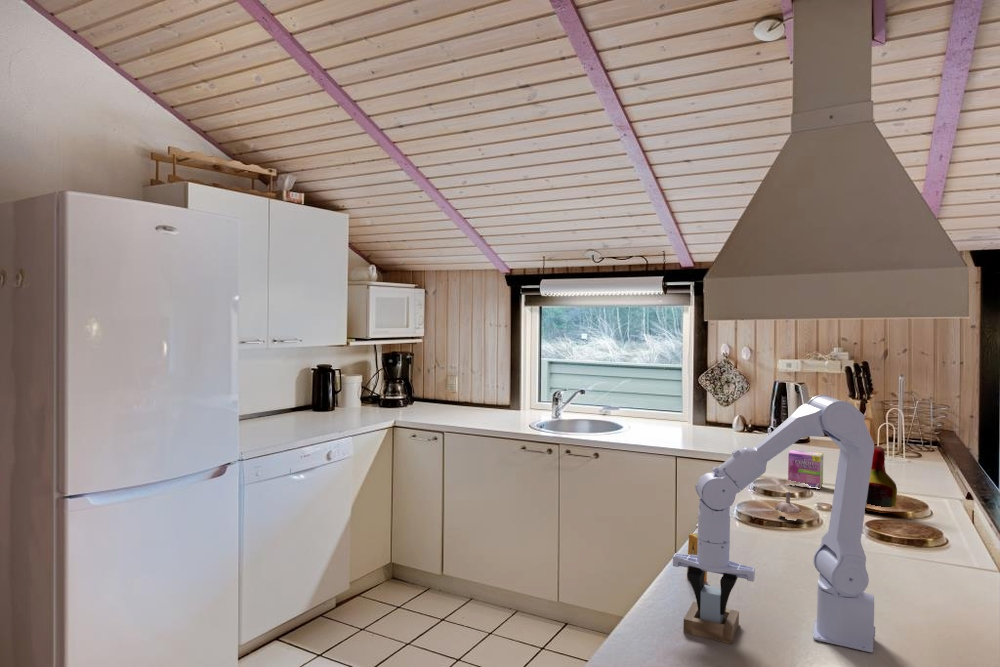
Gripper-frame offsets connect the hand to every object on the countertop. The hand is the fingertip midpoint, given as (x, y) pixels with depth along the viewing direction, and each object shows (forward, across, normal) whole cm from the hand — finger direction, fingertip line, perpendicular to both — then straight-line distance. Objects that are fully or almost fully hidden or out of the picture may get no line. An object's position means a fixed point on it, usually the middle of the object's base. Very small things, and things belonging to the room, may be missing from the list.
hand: (711, 610), depth 122 cm
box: (+4, -9, -124) cm, 124 cm away
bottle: (+4, -29, -102) cm, 106 cm away
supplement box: (+4, +7, -22) cm, 23 cm away
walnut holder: (+3, 0, 0) cm, 3 cm away
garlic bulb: (+4, -7, -80) cm, 81 cm away
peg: (+2, 0, 0) cm, 2 cm away
